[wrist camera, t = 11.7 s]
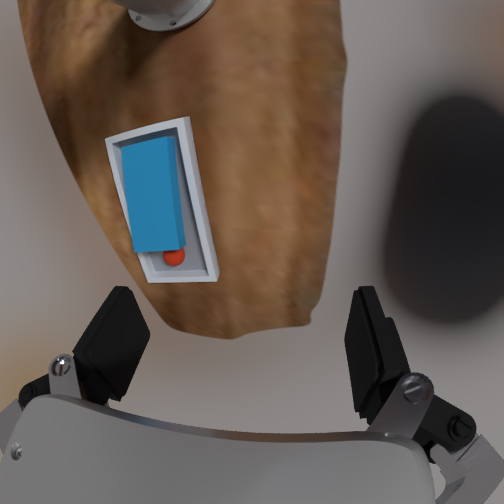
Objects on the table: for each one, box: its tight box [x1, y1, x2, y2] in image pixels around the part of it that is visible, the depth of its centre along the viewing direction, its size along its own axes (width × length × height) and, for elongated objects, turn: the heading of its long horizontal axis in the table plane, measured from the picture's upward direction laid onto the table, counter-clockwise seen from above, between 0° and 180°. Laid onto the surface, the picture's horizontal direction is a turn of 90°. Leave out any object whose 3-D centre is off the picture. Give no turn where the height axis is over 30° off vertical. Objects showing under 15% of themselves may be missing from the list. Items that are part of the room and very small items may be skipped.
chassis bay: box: [105, 116, 220, 283], centre depth 37 cm, size 24×12×2 cm, turn 7°
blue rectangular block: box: [121, 136, 186, 266], centre depth 36 cm, size 7×7×18 cm
